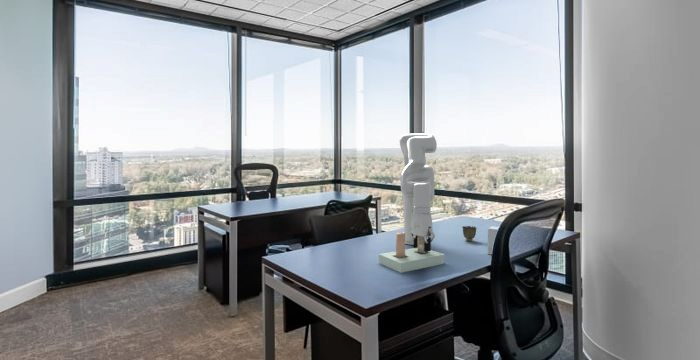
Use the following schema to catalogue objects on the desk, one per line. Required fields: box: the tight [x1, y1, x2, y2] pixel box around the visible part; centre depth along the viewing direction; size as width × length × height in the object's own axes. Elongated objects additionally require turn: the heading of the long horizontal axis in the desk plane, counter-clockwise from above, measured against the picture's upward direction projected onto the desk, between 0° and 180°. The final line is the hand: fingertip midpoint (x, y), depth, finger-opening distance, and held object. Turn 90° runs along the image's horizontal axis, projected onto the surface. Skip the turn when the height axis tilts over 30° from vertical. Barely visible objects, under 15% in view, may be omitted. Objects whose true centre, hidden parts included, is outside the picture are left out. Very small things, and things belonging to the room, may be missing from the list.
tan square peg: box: [395, 232, 406, 259], centre depth 163 cm, size 4×4×14 cm
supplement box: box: [487, 225, 500, 255], centre depth 183 cm, size 7×7×13 cm
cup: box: [462, 225, 477, 243], centre depth 209 cm, size 8×7×8 cm
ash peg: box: [417, 236, 427, 255], centre depth 169 cm, size 4×4×14 cm
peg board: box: [378, 247, 446, 274], centre depth 166 cm, size 16×24×5 cm, turn 119°
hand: (422, 249), depth 169 cm, fingers open, 6 cm apart
